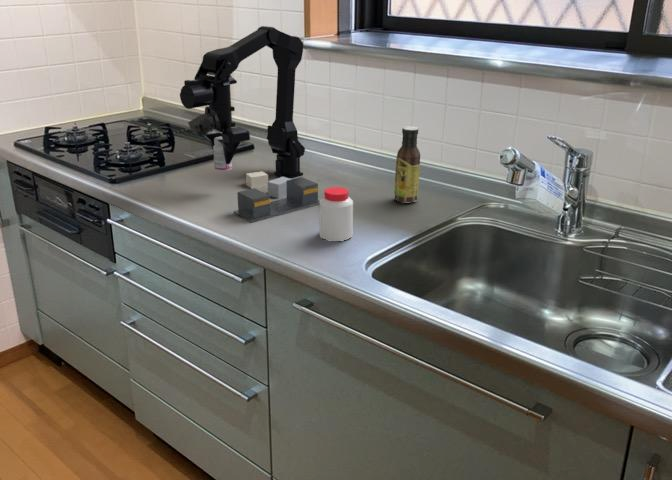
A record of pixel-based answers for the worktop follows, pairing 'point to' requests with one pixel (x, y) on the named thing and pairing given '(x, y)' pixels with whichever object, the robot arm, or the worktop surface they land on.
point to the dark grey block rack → (259, 206)
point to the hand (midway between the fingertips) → (223, 161)
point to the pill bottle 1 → (220, 156)
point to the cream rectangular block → (257, 180)
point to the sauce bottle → (407, 167)
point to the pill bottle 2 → (336, 214)
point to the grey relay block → (278, 187)
